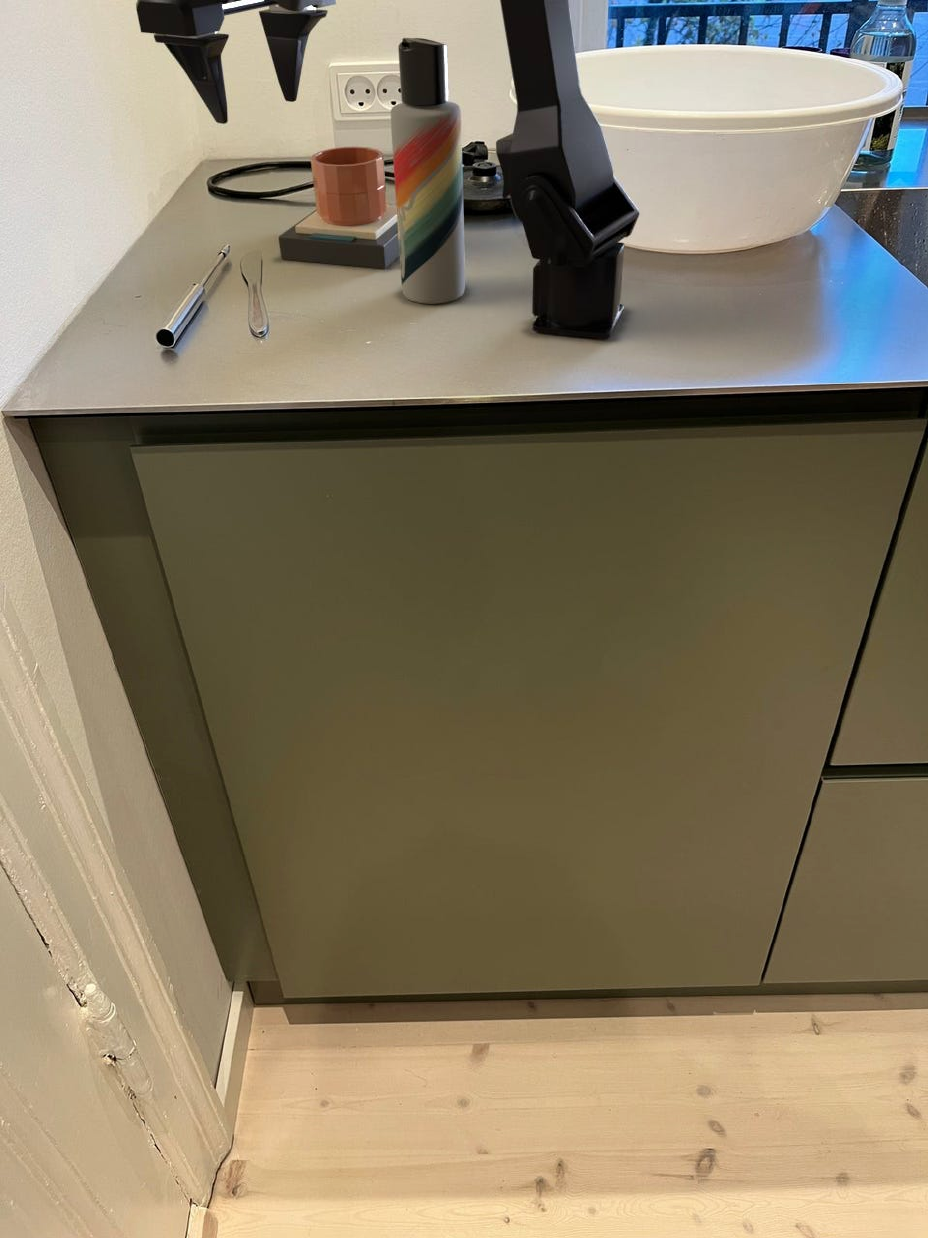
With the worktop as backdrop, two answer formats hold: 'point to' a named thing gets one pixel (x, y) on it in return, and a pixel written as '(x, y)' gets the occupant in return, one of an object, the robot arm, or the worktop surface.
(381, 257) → the scale
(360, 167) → the plant pot
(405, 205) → the lotion bottle
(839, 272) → the worktop surface
